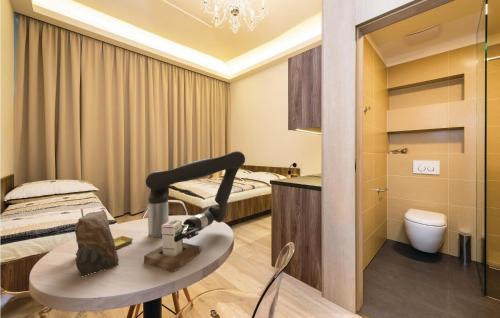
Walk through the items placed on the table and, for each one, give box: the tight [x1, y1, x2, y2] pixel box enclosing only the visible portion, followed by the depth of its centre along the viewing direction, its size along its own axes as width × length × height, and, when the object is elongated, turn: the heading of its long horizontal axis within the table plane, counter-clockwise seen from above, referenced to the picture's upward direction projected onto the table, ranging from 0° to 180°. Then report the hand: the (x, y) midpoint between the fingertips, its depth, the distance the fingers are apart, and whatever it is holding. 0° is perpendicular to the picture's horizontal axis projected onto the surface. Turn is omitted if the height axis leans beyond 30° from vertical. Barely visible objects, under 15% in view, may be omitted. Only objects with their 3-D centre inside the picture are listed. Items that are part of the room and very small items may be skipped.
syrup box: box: [161, 219, 184, 257], centre depth 83 cm, size 6×6×14 cm
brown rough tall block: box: [74, 209, 119, 277], centre depth 78 cm, size 13×13×20 cm
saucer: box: [113, 235, 134, 249], centre depth 97 cm, size 9×9×2 cm
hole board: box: [143, 242, 201, 273], centre depth 83 cm, size 15×15×3 cm
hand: (168, 238), depth 81 cm, fingers closed on syrup box, 6 cm apart
